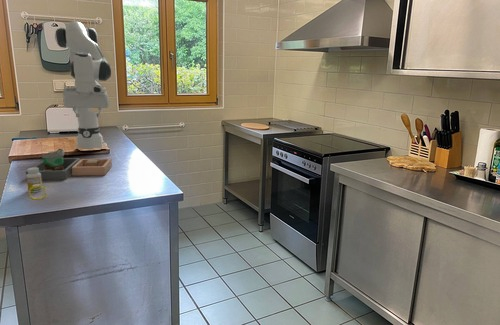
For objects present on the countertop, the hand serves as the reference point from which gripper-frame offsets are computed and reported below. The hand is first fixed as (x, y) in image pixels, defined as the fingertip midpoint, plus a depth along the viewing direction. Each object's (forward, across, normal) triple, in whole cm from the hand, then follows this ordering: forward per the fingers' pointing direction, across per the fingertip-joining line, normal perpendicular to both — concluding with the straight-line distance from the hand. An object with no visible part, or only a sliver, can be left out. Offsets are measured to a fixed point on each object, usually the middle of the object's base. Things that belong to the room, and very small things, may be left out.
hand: (88, 117), depth 179 cm
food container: (+27, -17, +1) cm, 32 cm away
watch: (+27, -11, -39) cm, 49 cm away
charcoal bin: (+27, -17, -2) cm, 32 cm away
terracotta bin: (+27, 0, 0) cm, 27 cm away
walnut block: (+27, 0, 0) cm, 27 cm away
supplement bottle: (+27, -16, -29) cm, 43 cm away
